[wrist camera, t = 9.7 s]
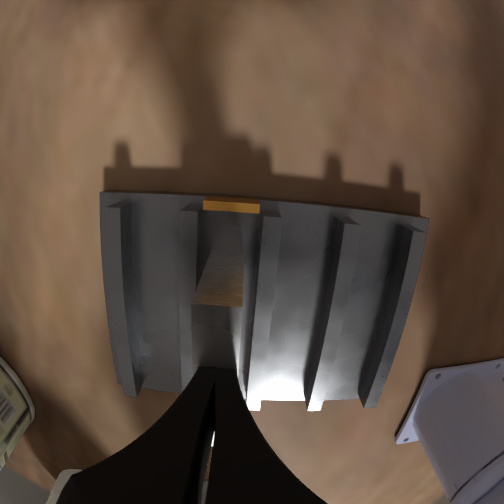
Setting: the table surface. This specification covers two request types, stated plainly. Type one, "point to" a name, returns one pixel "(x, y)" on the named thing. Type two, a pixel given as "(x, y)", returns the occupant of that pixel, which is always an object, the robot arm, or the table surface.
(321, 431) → the table surface
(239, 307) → the panel
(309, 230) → the rack
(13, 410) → the coffee can
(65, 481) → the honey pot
